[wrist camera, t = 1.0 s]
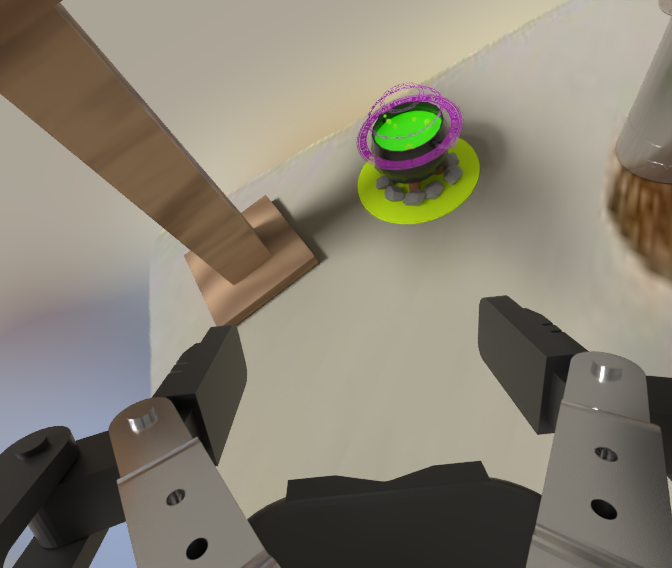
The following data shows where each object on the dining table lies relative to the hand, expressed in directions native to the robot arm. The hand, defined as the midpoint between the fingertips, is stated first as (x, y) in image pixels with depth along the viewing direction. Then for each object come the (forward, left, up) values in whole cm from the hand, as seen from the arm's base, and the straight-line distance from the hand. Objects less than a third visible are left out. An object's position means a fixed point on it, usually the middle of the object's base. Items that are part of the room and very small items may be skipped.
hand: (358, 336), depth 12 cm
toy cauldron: (-27, -11, -23) cm, 37 cm away
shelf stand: (-9, -27, -23) cm, 36 cm away
